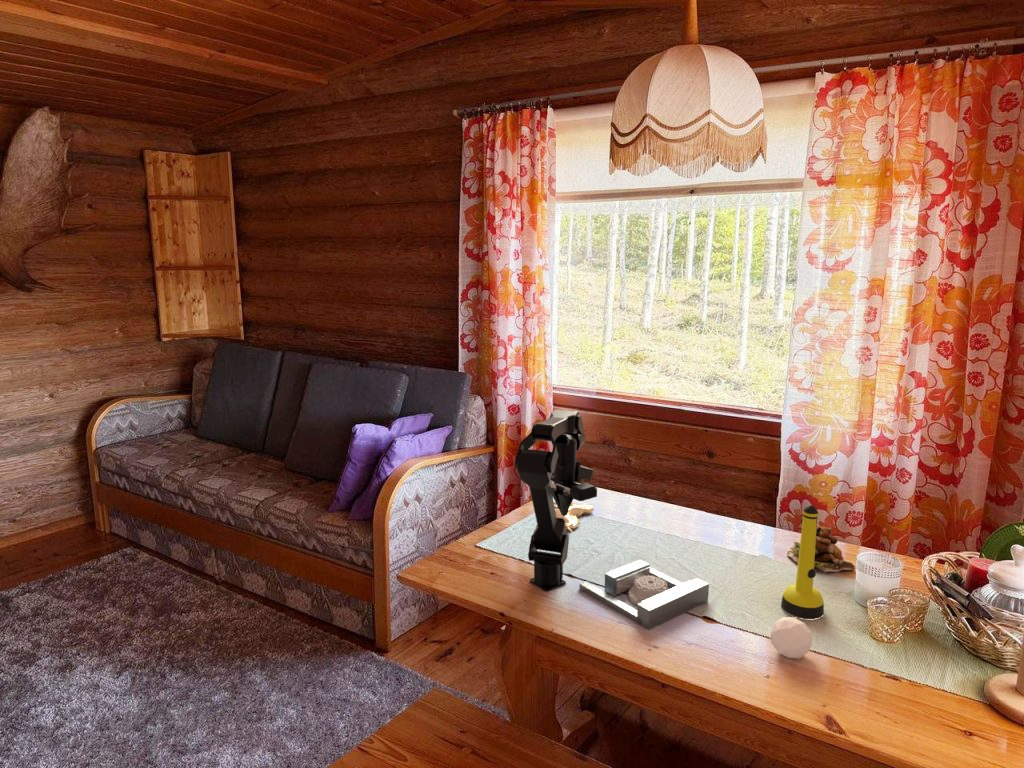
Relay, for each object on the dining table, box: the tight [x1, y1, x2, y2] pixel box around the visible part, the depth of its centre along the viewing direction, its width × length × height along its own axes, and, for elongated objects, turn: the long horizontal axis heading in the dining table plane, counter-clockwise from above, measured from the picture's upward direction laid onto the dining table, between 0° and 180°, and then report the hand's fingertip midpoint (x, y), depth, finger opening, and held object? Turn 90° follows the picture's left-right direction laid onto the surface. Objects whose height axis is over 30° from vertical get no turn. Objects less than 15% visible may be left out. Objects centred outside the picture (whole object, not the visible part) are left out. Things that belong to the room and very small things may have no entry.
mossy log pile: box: [786, 516, 856, 573], centre depth 175 cm, size 14×15×12 cm
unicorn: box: [553, 501, 595, 533], centre depth 205 cm, size 20×4×17 cm
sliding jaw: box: [604, 559, 651, 597], centre depth 162 cm, size 12×4×5 cm, turn 127°
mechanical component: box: [628, 575, 669, 607], centre depth 157 cm, size 10×4×10 cm
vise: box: [579, 567, 710, 631], centre depth 159 cm, size 20×22×4 cm
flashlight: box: [780, 504, 825, 619], centre depth 150 cm, size 25×9×9 cm
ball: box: [770, 616, 813, 659], centre depth 135 cm, size 8×8×8 cm
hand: (564, 515), depth 176 cm, fingers closed
